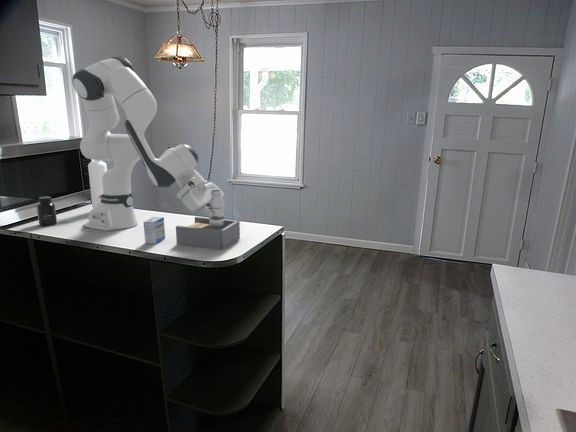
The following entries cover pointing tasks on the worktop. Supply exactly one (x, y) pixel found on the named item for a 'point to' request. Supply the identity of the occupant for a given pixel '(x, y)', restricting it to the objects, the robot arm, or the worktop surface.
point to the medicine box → (154, 230)
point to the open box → (208, 234)
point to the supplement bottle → (46, 212)
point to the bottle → (96, 180)
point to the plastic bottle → (216, 210)
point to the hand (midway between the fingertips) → (218, 213)
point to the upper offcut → (199, 225)
